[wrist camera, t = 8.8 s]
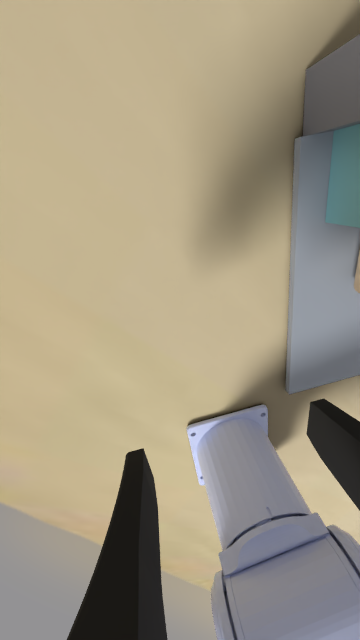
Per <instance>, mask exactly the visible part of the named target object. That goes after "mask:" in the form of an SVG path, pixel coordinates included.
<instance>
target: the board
mask: <svg viewBox="0 0 360 640" xmlns="http://www.w3.org/2000/svg"><path fill="white" fill-rule="evenodd" d="M333 134H334V131H330V132H325V133H319V134H314V135H308V136H303V137H299V138H295V145H294V172H293V200H292V227H291V255H290V282H289V310H288V337H287V364H286V391H287V393H288V394H293V393H296V392H300V391H303V390H307V389H311V388H314V387H318V386H321V385H325V384H329V383H332V382H336V381H339V380H343V379H347V378H350V377H354V376H357V375H360V293H358V292H357V291H356V290H355V289H354V280H355V274H356V268H357V262H358V256H359V250H360V228H357V227H351V226H345V225H339V224H333V223H327V222H325V218H326V208H327V197H328V187H329V176H330V165H331V155H332V144H333Z"/></svg>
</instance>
